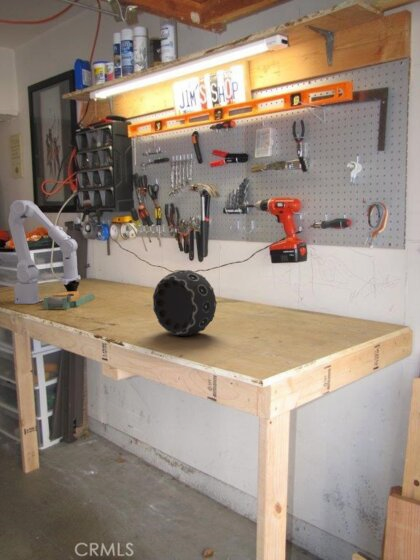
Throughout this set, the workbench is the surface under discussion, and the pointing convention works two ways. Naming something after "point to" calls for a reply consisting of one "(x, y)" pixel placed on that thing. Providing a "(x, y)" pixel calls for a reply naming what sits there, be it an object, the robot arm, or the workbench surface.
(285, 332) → the workbench surface
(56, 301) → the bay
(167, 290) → the dark studded ball
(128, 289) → the workbench surface
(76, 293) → the orange square block
